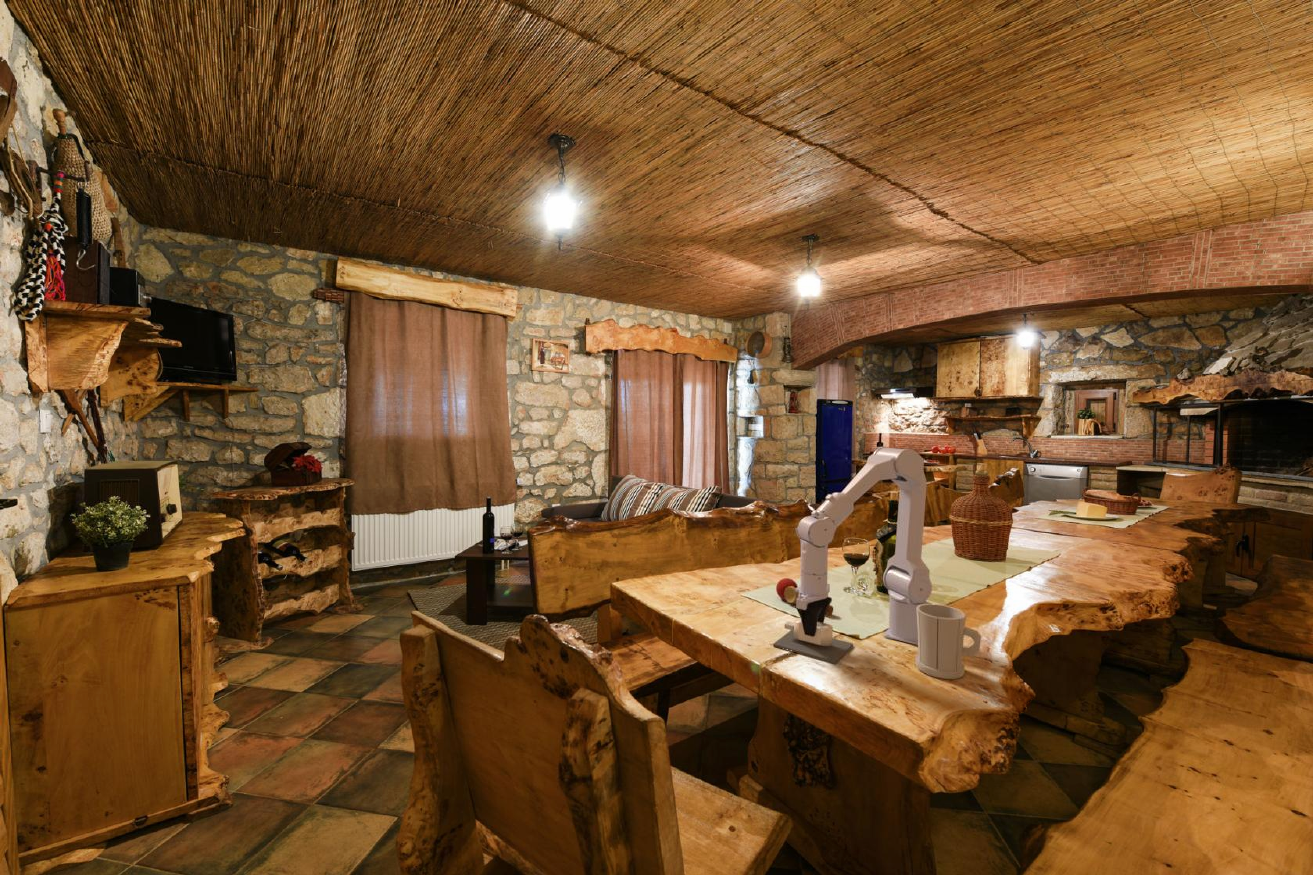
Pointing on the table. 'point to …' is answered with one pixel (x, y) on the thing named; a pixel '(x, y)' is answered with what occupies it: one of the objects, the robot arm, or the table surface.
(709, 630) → the table surface
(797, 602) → the robot arm
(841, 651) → the mat
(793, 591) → the kendama
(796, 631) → the block
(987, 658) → the table surface
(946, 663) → the cup
